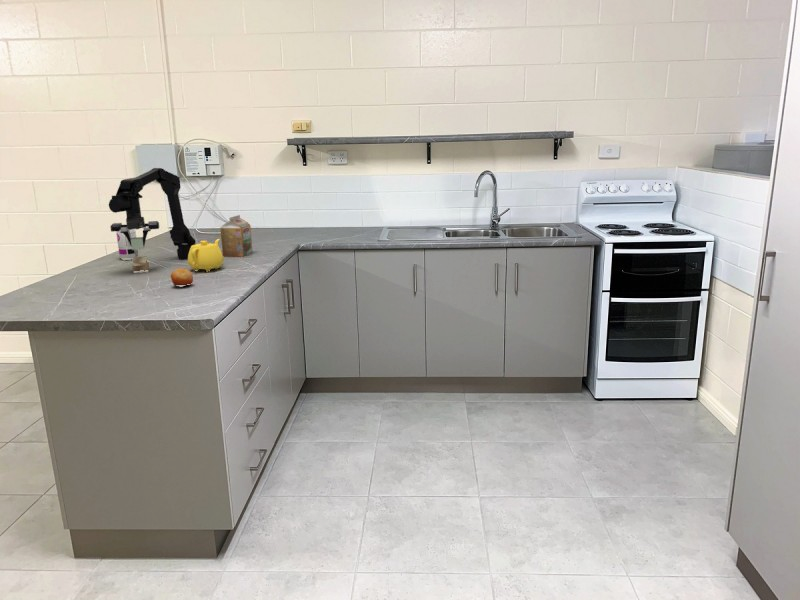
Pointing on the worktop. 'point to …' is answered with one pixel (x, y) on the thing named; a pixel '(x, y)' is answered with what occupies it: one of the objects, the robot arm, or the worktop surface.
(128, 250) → the supplement can
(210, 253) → the teapot
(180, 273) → the fruit
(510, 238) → the worktop surface
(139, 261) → the maple block
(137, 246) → the sage cube
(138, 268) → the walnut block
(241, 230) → the milk carton
